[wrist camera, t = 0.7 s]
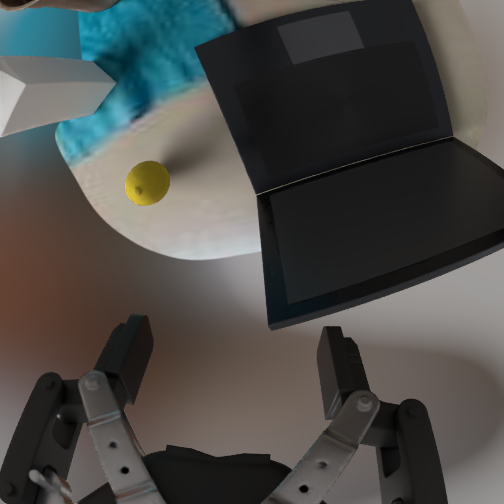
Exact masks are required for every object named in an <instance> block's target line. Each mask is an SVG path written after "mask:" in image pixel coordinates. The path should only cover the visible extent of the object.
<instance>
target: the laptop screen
mask: <svg viewBox="0 0 504 504" xmlns="http://www.w3.org/2000/svg"><path fill="white" fill-rule="evenodd" d="M256 197H257V207H258V218H259V229H260V239H261V250H262V261H263V273H264V284H265V295H266V307H267V317H268V326H269V328H270V330H272V331H273V330H277V329H281V328H284V327H288V326H292V325H295V324H299V323H302V322H306V321H309V320H313V319H316V318H320V317H323V316H326V315H329V314H333V313H336V312H339V311H342V310H345V309H349V308H352V307H355V306H358V305H361V304H364V303H367V302H370V301H373V300H375V299H379V298H382V297H385V296H387V295H390V294H393V293H396V292H399V291H401V290H404V289H407V288H410V287H412V286H415V285H418V284H420V283H423V282H425V281H428V280H431V279H433V278H435V277H438V276H441V275H443V274H445V273H448V272H450V271H453V270H455V269H458V268H460V267H462V266H465V265H467V264H469V263H472V262H474V261H476V260H479V259H481V258H483V257H485V256H488V255H490V254H492V253H494V252H496V251H498V250H500V249H503V248H504V169H502V168H501V167H500V166H498V165H497V164H495V163H494V162H492V161H491V160H490V159H488V158H487V157H485V156H484V155H482V154H481V153H479V152H478V151H476V150H475V149H473V148H471V147H470V146H468V145H467V144H465V143H463V142H462V141H460V140H458V139H457V138H455V137H450V138H446V139H442V140H438V141H434V142H430V143H426V144H422V145H418V146H415V147H411V148H407V149H404V150H400V151H396V152H393V153H389V154H386V155H382V156H379V157H375V158H372V159H368V160H365V161H361V162H358V163H355V164H351V165H348V166H345V167H342V168H338V169H335V170H332V171H329V172H326V173H322V174H319V175H316V176H313V177H310V178H307V179H304V180H301V181H298V182H295V183H292V184H289V185H286V186H283V187H280V188H277V189H274V190H271V191H268V192H265V193H262V194H259V195H257V196H256Z"/></svg>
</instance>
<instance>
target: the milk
mask: <svg viewBox="0 0 504 504" xmlns="http://www.w3.org/2000/svg"><path fill="white" fill-rule="evenodd" d="M115 85H116V82H115V81H114V80H113V79H112V78H111V77H110V76H109V75H107V74H106V73H105V72H104V71H103V70H102V69H101V68H100V67H98V66H97V65H96V64H95V63H94V62H93V61H86V60H77V59H68V58H55V57H39V56H0V137H3V136H7V135H10V134H13V133H17V132H20V131H24V130H27V129H31V128H35V127H38V126H43V125H46V124H51V123H55V122H60V121H64V120H69V119H74V118H79V117H84V116H90V115H93V114H94V113H95V111H96V110H97V108H98V107H99V106H100V104H101V103H102V102H103V100H104V99H105V98H106V96H107V95H108V94H109V92H110V91H111V90H112V89H113V87H114V86H115Z"/></svg>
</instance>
